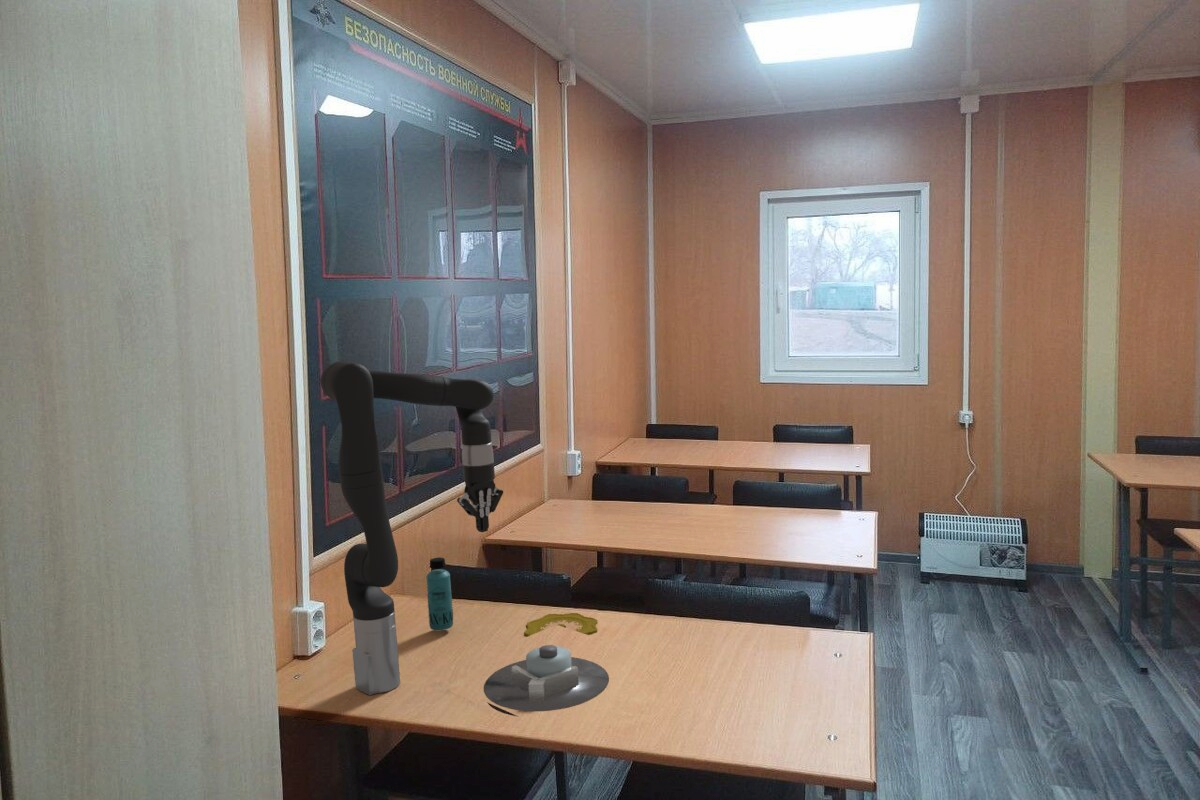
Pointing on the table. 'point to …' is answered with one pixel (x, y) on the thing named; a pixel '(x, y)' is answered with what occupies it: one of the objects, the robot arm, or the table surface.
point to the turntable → (545, 687)
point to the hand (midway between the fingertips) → (483, 531)
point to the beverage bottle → (439, 596)
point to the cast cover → (548, 660)
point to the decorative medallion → (586, 622)
